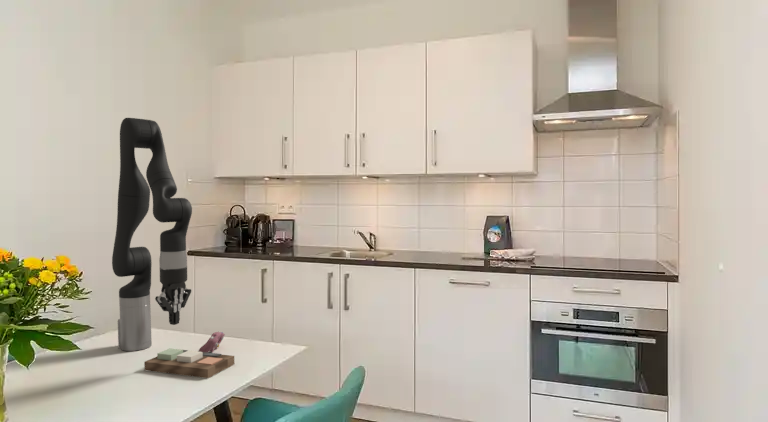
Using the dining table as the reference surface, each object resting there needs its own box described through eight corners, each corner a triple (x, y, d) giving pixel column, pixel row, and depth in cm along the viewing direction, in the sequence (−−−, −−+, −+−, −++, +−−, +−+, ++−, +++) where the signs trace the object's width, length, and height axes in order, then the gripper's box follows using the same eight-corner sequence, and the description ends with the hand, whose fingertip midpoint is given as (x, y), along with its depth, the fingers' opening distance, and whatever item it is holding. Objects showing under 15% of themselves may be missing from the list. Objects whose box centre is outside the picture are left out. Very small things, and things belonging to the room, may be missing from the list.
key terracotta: (197, 370, 146) (196, 362, 146) (208, 365, 151) (208, 356, 151) (211, 372, 144) (211, 364, 144) (222, 366, 149) (222, 358, 149)
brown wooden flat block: (144, 370, 148) (144, 360, 148) (174, 357, 159) (174, 348, 159) (208, 378, 141) (207, 367, 140) (234, 364, 152) (234, 354, 152)
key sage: (157, 361, 151) (157, 353, 150) (170, 356, 155) (169, 348, 155) (171, 363, 149) (171, 354, 149) (183, 357, 154) (183, 349, 154)
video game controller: (209, 360, 161) (219, 340, 161) (196, 353, 161) (205, 333, 161) (220, 350, 171) (229, 331, 171) (207, 344, 171) (216, 325, 171)
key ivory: (176, 363, 148) (176, 355, 148) (188, 358, 153) (188, 350, 153) (191, 365, 147) (190, 357, 146) (202, 359, 151) (202, 351, 151)
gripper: (178, 261, 158) (179, 317, 159) (146, 268, 146) (147, 328, 147) (199, 263, 156) (199, 319, 157) (167, 270, 143) (168, 331, 144)
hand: (174, 323), depth 152 cm, fingers closed
